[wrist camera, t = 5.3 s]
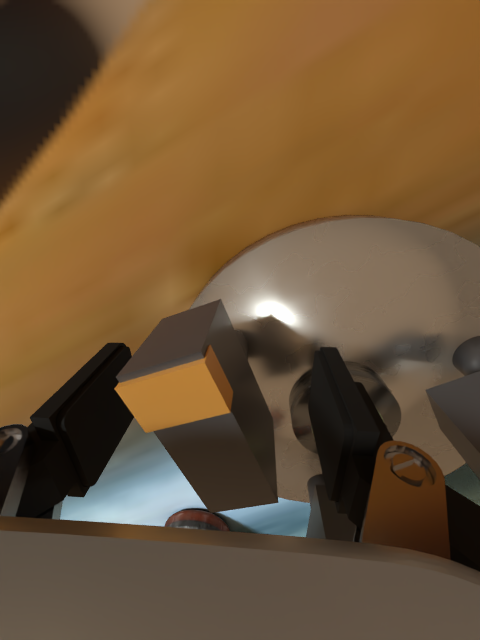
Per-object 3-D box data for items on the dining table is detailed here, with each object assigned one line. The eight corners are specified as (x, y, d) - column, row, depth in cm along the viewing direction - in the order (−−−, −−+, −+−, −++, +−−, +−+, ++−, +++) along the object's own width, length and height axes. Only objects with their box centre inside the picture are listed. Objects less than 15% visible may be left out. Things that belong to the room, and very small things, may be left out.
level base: (544, 175, 11) (685, 164, 7) (467, 467, 18) (519, 533, 14) (136, 252, 13) (91, 272, 10) (215, 481, 20) (206, 540, 17)
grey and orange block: (272, 388, 13) (280, 509, 8) (227, 399, 14) (208, 519, 9) (228, 281, 11) (200, 355, 6) (176, 300, 12) (110, 382, 6)
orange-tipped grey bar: (307, 449, 15) (332, 581, 10) (352, 452, 15) (401, 587, 10) (298, 511, 18) (315, 641, 12) (336, 513, 17) (369, 646, 12)
